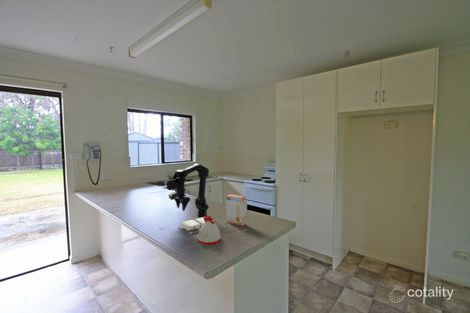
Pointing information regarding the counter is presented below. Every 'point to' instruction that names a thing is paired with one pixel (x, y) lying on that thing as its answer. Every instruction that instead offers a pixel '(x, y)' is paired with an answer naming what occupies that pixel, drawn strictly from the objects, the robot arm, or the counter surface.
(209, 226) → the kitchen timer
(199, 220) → the block
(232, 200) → the translucent upright frame
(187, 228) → the rocker
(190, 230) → the switch base
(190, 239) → the counter surface
